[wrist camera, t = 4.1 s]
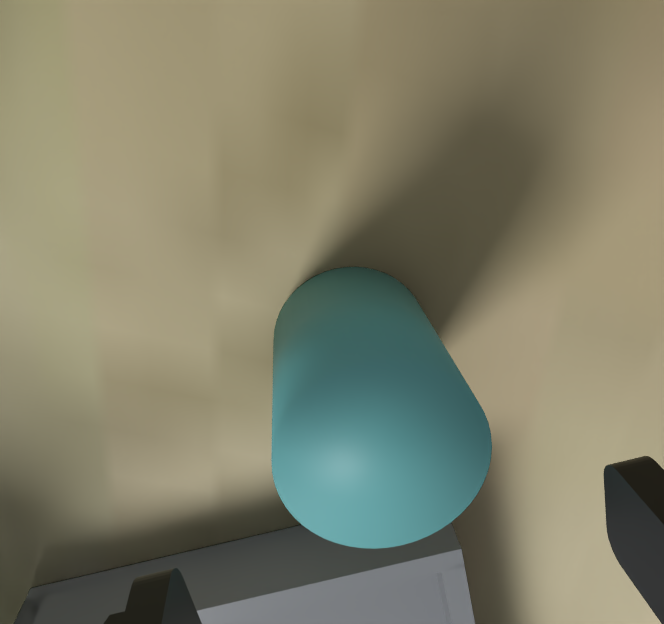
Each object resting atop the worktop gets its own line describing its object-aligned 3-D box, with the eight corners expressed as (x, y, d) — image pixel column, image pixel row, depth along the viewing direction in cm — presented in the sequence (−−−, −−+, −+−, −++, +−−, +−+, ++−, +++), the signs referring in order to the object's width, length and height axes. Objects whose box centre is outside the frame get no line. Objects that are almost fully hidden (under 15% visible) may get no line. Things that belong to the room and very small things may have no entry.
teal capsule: (412, 250, 20) (476, 335, 14) (437, 388, 22) (503, 521, 16) (256, 287, 20) (245, 390, 14) (294, 422, 22) (301, 568, 16)
